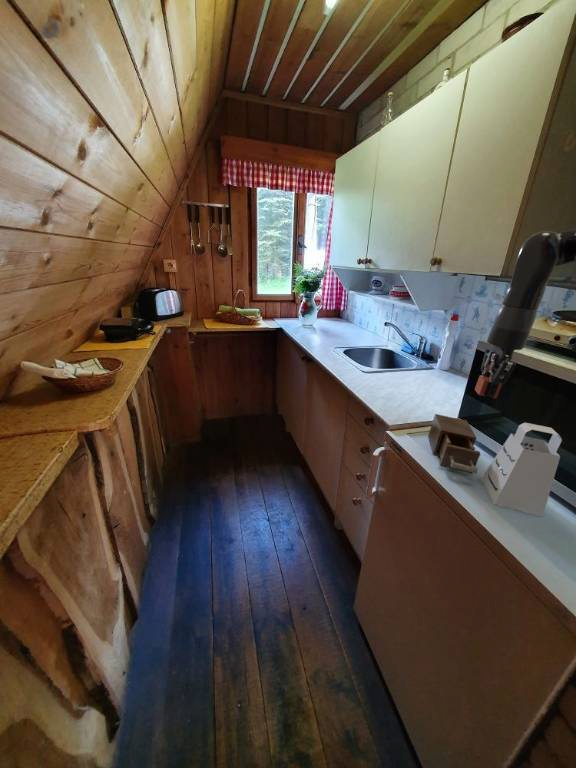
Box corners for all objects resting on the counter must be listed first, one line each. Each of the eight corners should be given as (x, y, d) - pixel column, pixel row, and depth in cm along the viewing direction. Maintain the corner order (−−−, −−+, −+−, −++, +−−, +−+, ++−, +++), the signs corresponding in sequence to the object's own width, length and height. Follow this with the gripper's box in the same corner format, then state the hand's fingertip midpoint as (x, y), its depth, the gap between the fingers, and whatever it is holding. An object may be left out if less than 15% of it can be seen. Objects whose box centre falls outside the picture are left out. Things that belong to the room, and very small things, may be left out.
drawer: (477, 485, 80) (486, 463, 77) (442, 476, 82) (450, 455, 79) (463, 454, 94) (470, 434, 91) (434, 447, 96) (440, 428, 93)
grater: (481, 478, 84) (508, 414, 77) (523, 488, 82) (555, 423, 75) (494, 504, 75) (526, 434, 68) (542, 517, 73) (581, 445, 65)
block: (491, 392, 80) (496, 378, 78) (496, 398, 76) (502, 383, 74) (474, 389, 80) (479, 375, 79) (478, 395, 77) (484, 380, 75)
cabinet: (467, 462, 91) (476, 437, 88) (433, 454, 93) (441, 430, 90) (458, 443, 102) (466, 420, 99) (428, 436, 104) (435, 413, 101)
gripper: (544, 335, 65) (512, 407, 71) (517, 324, 77) (492, 386, 84) (504, 329, 66) (477, 400, 73) (484, 320, 79) (462, 381, 85)
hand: (485, 392), depth 78 cm, fingers closed on block, 4 cm apart
